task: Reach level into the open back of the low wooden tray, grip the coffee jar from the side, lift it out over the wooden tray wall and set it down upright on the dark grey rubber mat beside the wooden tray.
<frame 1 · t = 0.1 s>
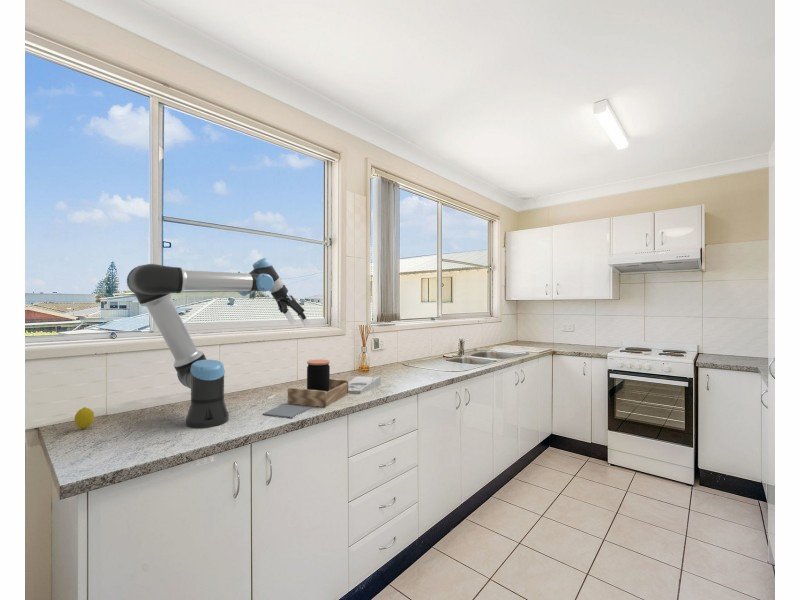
hand: (300, 323, 193), 36 cm above the countertop, tool tilted 35°, fingers open, 13 cm apart
coffee jar: (318, 398, 185), on the countertop
lemon: (84, 429, 141), on the countertop
wooden tray: (318, 398, 185), on the countertop
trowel: (360, 390, 205), on the countertop, touching wooden tray
rubber mat: (287, 411, 164), on the countertop
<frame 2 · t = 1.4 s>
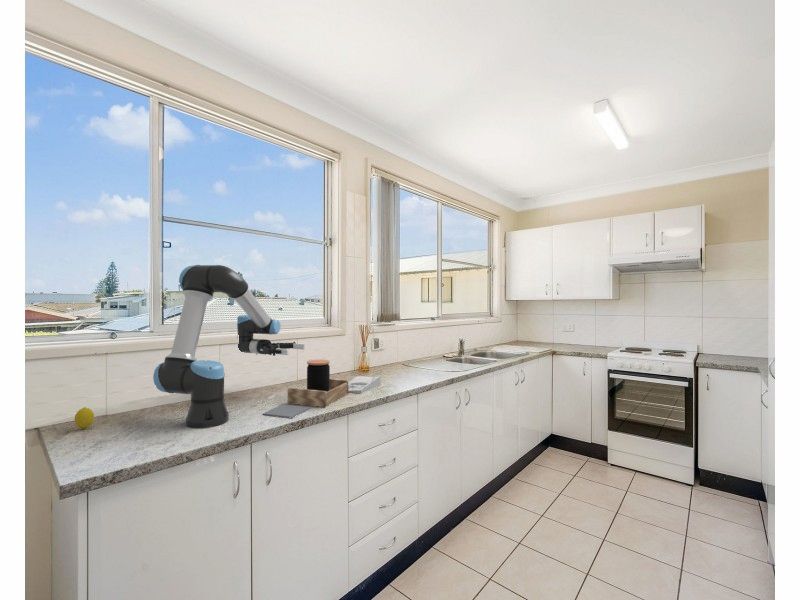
hand: (296, 349, 187), 23 cm above the countertop, tool horizontal, fingers open, 13 cm apart
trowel: (361, 390, 205), on the countertop
everything else where it was.
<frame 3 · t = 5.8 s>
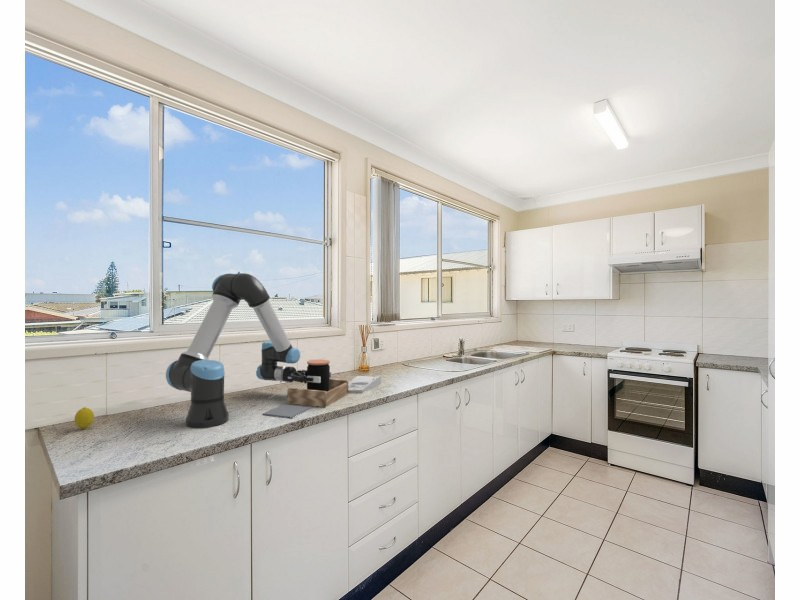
hand: (325, 377, 184), 11 cm above the countertop, tool horizontal, fingers closed on coffee jar, 11 cm apart
coffee jar: (318, 398, 185), on the countertop, touching gripper
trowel: (361, 389, 206), on the countertop
everything else where it was.
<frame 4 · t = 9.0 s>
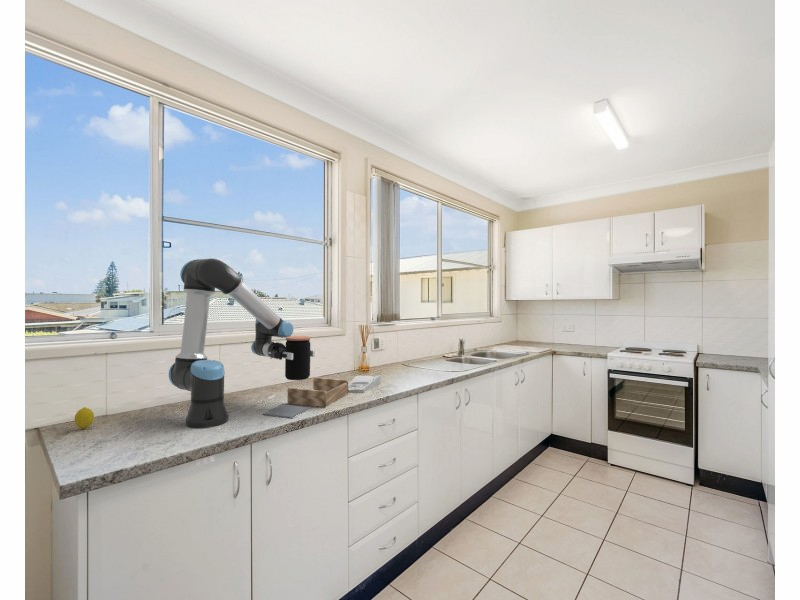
hand: (303, 355, 166), 24 cm above the countertop, tool horizontal, fingers closed on coffee jar, 11 cm apart
coffee jar: (297, 378, 169), point 13 cm above the countertop, touching gripper
when the fingers open (12 cm above the countertop, at t = 12.3 s): coffee jar drops 1 cm, resting on rubber mat.
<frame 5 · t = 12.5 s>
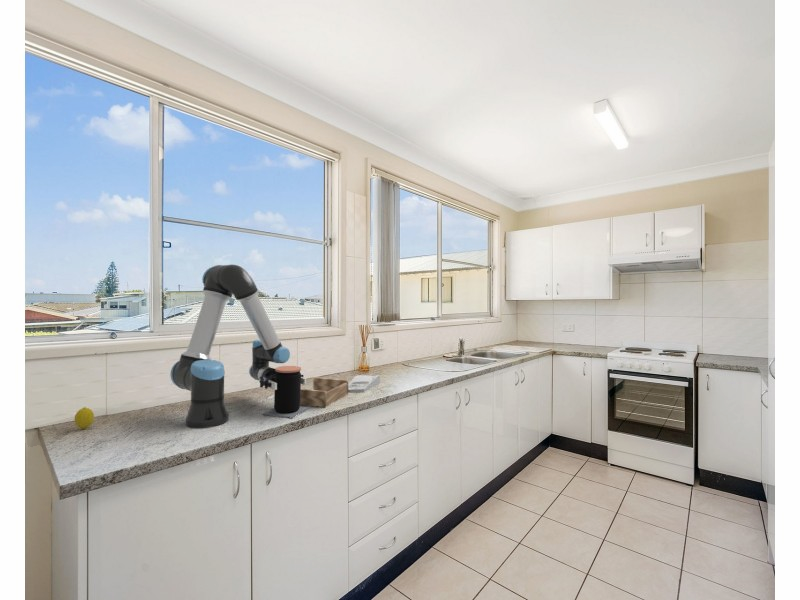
hand: (291, 384, 161), 12 cm above the countertop, tool horizontal, fingers open, 13 cm apart
coffee jar: (287, 410, 164), point 1 cm above the countertop, touching rubber mat
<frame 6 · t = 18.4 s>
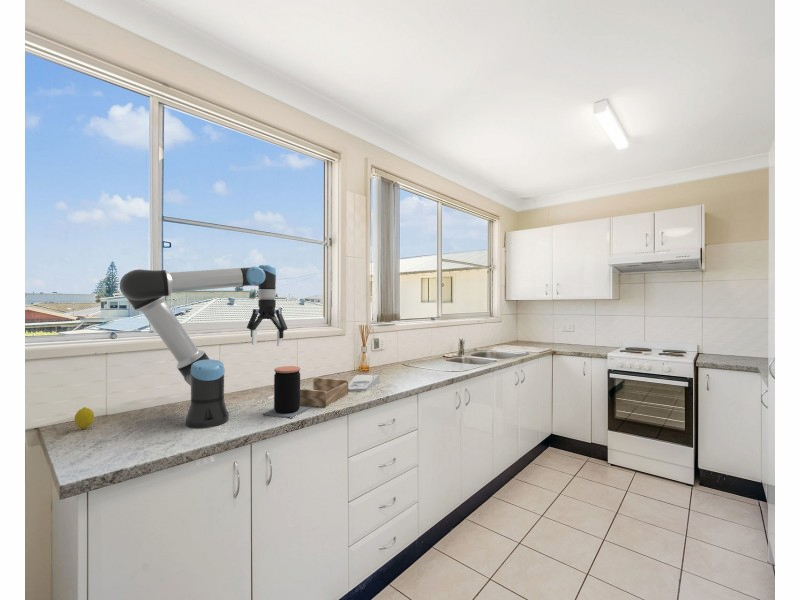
hand: (266, 344, 177), 27 cm above the countertop, tool pointing down, fingers open, 13 cm apart
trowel: (362, 388, 209), on the countertop
everything else where it was.
at the end: coffee jar inside the target area on the rubber mat (0.0 cm from its centre), point 0.4 cm above the rubber mat's base; coffee jar tilted 0°; the gripper is holding nothing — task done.
